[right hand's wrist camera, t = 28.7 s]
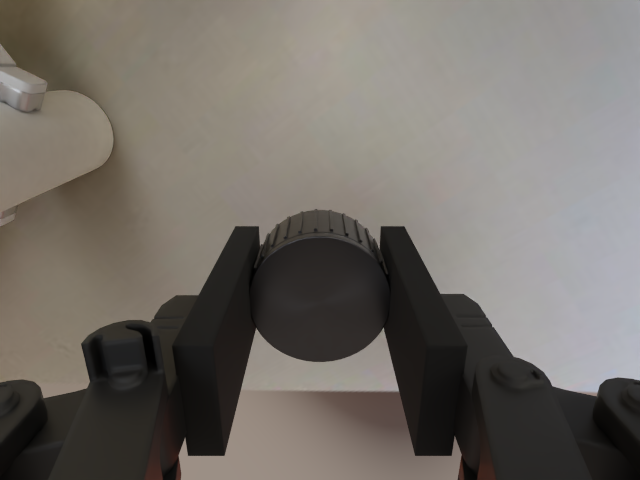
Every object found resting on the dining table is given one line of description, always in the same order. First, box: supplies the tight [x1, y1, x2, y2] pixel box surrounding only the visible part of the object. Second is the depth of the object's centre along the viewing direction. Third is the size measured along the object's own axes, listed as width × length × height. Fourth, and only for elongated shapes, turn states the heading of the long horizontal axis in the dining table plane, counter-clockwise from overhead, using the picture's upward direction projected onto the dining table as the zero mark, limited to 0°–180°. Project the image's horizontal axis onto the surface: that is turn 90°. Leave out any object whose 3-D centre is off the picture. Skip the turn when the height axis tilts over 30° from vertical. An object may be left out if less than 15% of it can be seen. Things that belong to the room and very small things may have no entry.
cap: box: [249, 209, 391, 362], centre depth 13 cm, size 4×4×2 cm
